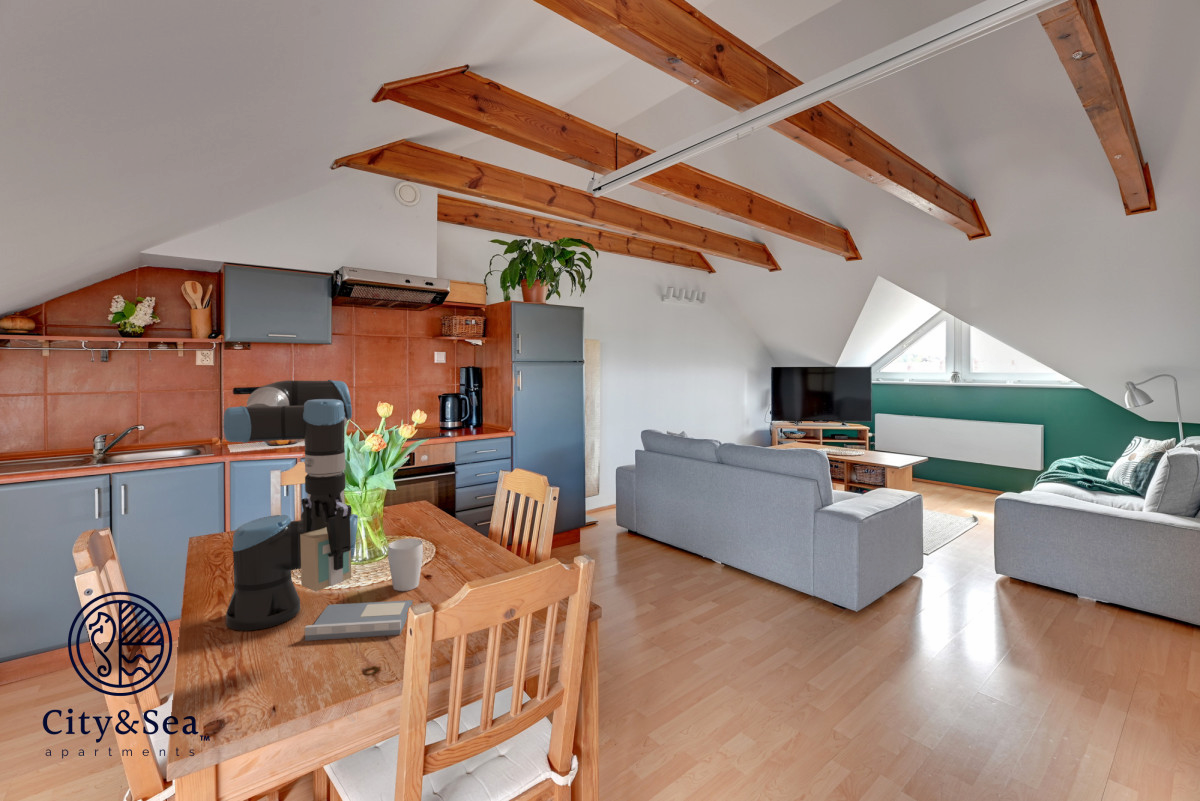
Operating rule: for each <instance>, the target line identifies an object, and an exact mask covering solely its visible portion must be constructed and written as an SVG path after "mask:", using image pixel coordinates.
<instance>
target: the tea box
mask: <svg viewBox="0 0 1200 801" xmlns="http://www.w3.org/2000/svg"><path fill="white" fill-rule="evenodd" d="M300 542H301V569H300V571H301V572H300V574H301V575H300V577H301V578H300V579H301V580H300V582H301V584H300V585H301V587H304V588H305V589H308V590H311V591H314V592H318V591H321V590H323V589H326V588H329V587H330V586H329V565H328V554H330V553H331V550H330V544H329V539H328V533H327V528H326V527H325V528H323V529H320V530H316V531H311V532H307V533H304V534H300ZM350 542H351V528H350ZM351 578H352V559H351V550H350V551H348V552H345V553H344V554H343V582H344V581H347V580H349V579H351Z"/></svg>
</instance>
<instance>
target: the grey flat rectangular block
mask: <svg viewBox="0 0 1200 801" xmlns="http://www.w3.org/2000/svg"><path fill="white" fill-rule="evenodd" d="M412 602H413V599H412V600H393V601H375V602H374V601H373V602H372V601H370V602H353V603H337V604H334V603H333V604H328V605H327V606H326V607H325V609H324V610H323V611H322V612H321V614H320V615H319V616H318V618H317V619H316V620H315V622H314V623H313V624H310V625H308V624H307V625H306V626H304V641H305V642H306V641H307V642H308V641H320V640H322V641H323V640H340V639H351V638H352V639H353V638H355V639H356V638H369V637H385V636H386V637H388V636H399V635H398V634H400V635H401V633H402V631H403V629H404V628H405V624H406V622H407V620H408V617H407V612H408V608H409V607H410V606H411V605H412V604H414V603H412ZM412 606H413V605H412ZM406 619H407V620H406Z"/></svg>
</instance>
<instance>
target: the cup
mask: <svg viewBox="0 0 1200 801" xmlns="http://www.w3.org/2000/svg"><path fill="white" fill-rule="evenodd" d="M423 548H424V546H423V541H422V540H420V539H417V538H402V539H397V540H394V541H391V542H390V543H389V544H388V551H387V553H388V554H387V558H388V564H389V572H390V577H391V583H392V589H393V590H395V591H397V592H408V591H412V590H414V589H416V588H418V587H419V585H420V578H421V570H422V564H423V556H424V549H423Z"/></svg>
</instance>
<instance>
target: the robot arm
mask: <svg viewBox="0 0 1200 801" xmlns="http://www.w3.org/2000/svg"><path fill="white" fill-rule="evenodd" d="M349 390H350V389H349V387H348V385H347V383H345V382H344V381H342V380H332V379H328V380H289V379H288V380H280V381H276V382H272V383H268V384H265V385H262V386H260V387H258V388H256V389H255V390H253V391H252V392H251V394H249V396H248V398H247V401H246V406H243V405H240V406H232V407H227V408H226V409H225V410H224V414H223V423H222V424H223V434H224V438H225V440H226V441H227V442H228V443H243V444H246V443H249V442H250V443H251V442H253V443H254V442H271V441H272V442H273V441H298V440H304V461H303V462H304V472H305V473H306V475H305V476H304V488H305V489H304V490H305V493H306V494H307V497H304V498H302V499H301V506H302V512H301V513H300V519H299V520H293V521H292V519H291V517H290V516H289V515H287V514H281V515H280V514H273V515H269V516H264V517H260V518H256V519H253V520H250V521H248V522H246V523H243V524H241V525H240V526H238V527H237V528H236V529H235V531H234V533H233V535H232V537H233V538H232V547H231V550H232V557H233V585H234V586H233V587H234V588H233V592H232V595H231V599H230V601H229V604H228V607H227V610H226V614H225V625H226V626H227V628H229V629H231V630H235V631H241V632H242V631H246V632H247V631H257V630H262V629H268V628H271V627H275V626H277V625H280V624H284V623H285V622H287V621H289V620H291V619H293V618H294V617H296V616H297V615H298V614H299V613H300V611H301V599H300V596H299V594H298V591H297V588H296V586H295V584H294V582H293V578H292V571H294V570H301V542H300V534H304V533H307V532H311V531H316V530H320V529H323V528H325V527H326V528H327V533H328V539H329V544H330V550H331V553H330V554H328V565H329V587H333V586H336V585H338V584H340V583H343V582H344V581H343V554H344V553H345V552H348V551H350V550H351V560H352V559H353V558H354V556H355V552H356V551H355V550H356V542H357V534H358V533H357V530H358V521H359V516H358V514H355V513H353V512H352V506H351V505H350V504H347V503H346V502H345V490H346V474H345V472H344V471H345V470H346V449H345V427H346V426H347V422H348V421H349V420H351V419H352V418H353V408H352V400H351V394H350V391H349ZM350 528H351V542H350Z"/></svg>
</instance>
